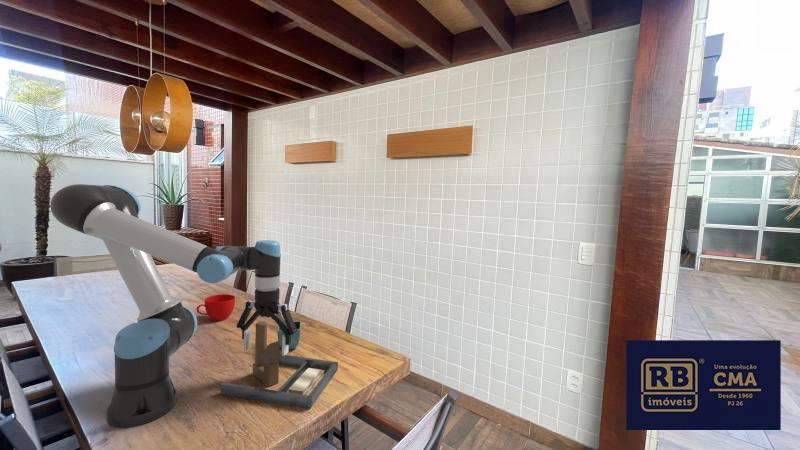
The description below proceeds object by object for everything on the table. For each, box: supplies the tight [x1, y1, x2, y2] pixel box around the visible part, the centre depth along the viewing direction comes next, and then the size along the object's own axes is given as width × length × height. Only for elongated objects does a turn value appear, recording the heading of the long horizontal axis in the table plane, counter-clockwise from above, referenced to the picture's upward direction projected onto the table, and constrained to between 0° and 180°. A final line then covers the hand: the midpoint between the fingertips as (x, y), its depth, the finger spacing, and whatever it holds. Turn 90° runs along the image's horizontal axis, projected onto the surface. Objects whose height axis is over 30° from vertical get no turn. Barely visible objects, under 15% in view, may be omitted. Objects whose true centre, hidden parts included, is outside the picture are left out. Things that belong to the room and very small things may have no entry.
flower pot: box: [276, 320, 302, 350], centre depth 130 cm, size 9×9×9 cm
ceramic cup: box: [196, 293, 236, 322], centre depth 155 cm, size 13×17×10 cm
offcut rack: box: [219, 353, 339, 410], centre depth 106 cm, size 22×29×3 cm
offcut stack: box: [288, 368, 325, 396], centre depth 105 cm, size 16×5×3 cm, turn 170°
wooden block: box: [252, 320, 280, 387], centre depth 107 cm, size 4×11×18 cm, turn 50°
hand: (266, 351), depth 107 cm, fingers open, 13 cm apart
